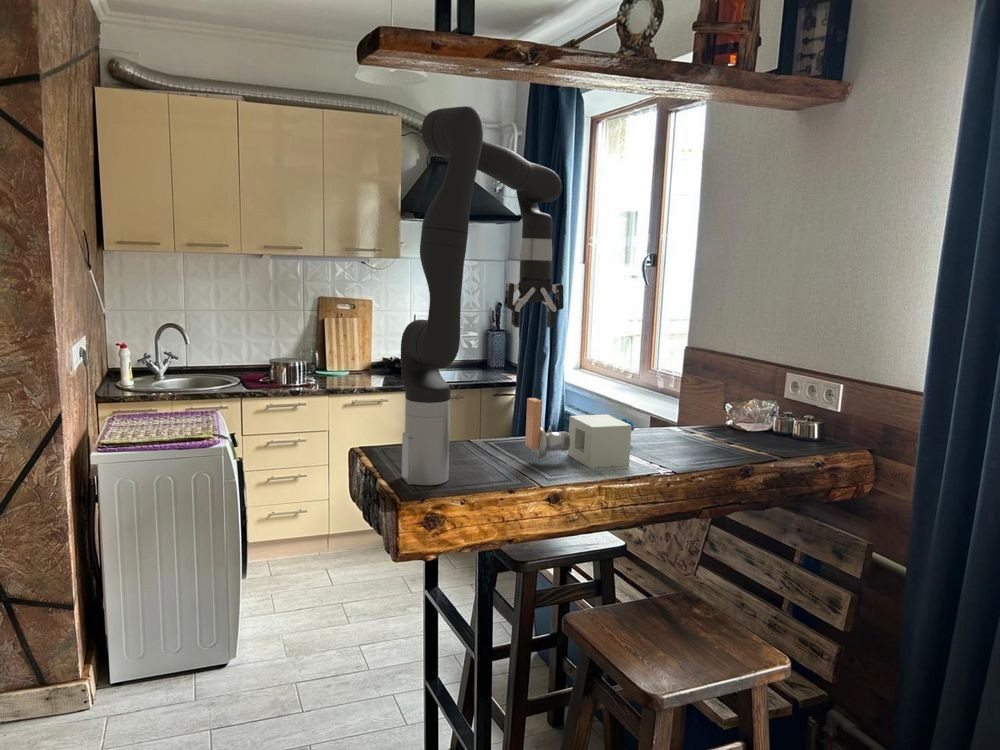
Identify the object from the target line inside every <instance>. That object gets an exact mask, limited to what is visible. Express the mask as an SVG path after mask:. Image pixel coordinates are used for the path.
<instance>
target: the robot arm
mask: <svg viewBox="0 0 1000 750" xmlns="http://www.w3.org/2000/svg"><path fill="white" fill-rule="evenodd" d="M483 123H484V122H483V119H482V117H481V115H480V113H479V111H478V110H477V109H476V108H474V107H472V106H467V105H466V106H454V107H453V106H452V107H444V108H437V109H434V110H432V111H430V112H429V113H428V114H426V115H425V117H424V118H423V121H422V124H421V137H422V138H421V139H422V140H423V144H424V145H425V147H426V148H427V149H428V150H429V152H431V153H432V154H434V155H435V156H440V157H442V158H445V159H448V162H447V170H446V174H445V178H444V179H443V182H442V184H441V186H440V188H439V190H438V191H437V193H436V194H435V196H434V198H433V199H432V201H431V203H430V205H429V206H428V209H427V211H426V212H425V214H424V216H423V220H422V225H421V233H420V243H419V244H420V245H419V257H420V263H421V267H422V270H423V273H424V277H425V280H426V283H427V287H428V292H429V306H428V313H427V315H428V316H427V319H415V320H413V321H411V322H410V323H407V325H406V327H405V328H404V331H403V332H402V335H401V341H400V342H401V343H400V368H401V369H400V372H401V382H402V383H401V384H402V385H403V388H404V398H405V399H404V400H405V402H404V403H405V409H404V410H405V411H404V417H405V418H404V431H403V432H402V438H401V439H402V440H401V441H402V442H401V443H402V444H401V446H402V448H401V477H402V479H403V480H404V482H406V484H407V485H418V486H435V485H436V486H437V485H442V484H444V483H445V484H446V482H448V481H449V472H450V467H449V465H450V464H449V463H450V461H449V460H450V426H451V423H450V422H451V392H452V391H451V386H450V384H449V383H447V381H446V380H445V379H444V378H443V377H442V374H441V372H440V369H444V368H447V367H449V366H451V365H452V364H453V363H454V361H455V360H456V358H457V357H458V352H459V350H460V344H461V343H460V342H461V312H462V311H461V308H462V307H461V306H462V305H461V304H462V302H461V301H462V290H463V289H462V288H463V280H464V279H463V277H464V267H465V260H466V259H465V258H466V254H467V253H466V252H467V246H468V245H467V244H468V236H469V235H468V234H469V224H470V216H471V215H470V214H471V207H472V198H473V192H474V186H475V180H476V176H477V171H479V172H481V173H483V174H485V175H487V176H488V177H491V178H493V179H494V180H496V181H498V182H499V183H501V184H503V185H504V186H507V187H508V188H509V189H512V190H514V191H516V197H517V202H518V205H519V212H520V216H521V219H522V220H521V221H522V225H521V227H522V231H521V243H520V249H519V250H520V251H519V278H518V279H519V280H518V283H512V282H507V283H506V284H505V293H504V303H503V307H504V308H506V309H508V310H510V311H511V324H512V325H513V327H514V328H516V329H517V328H520V324H521V323H520V321H521V311H520V310H521V308H522V307H524V305H525V304H526V303H527V302H528V303H533V302H537V303H543V304H544V305H545V307H546V309H547V310H548V311H547V312H546V328H552V329H553V327H554V326H555V323H556V313H557V311H559V310H563V309H564V307H565V305H564V303H565V302H564V284H561V283H555V284H552V281H551V280H552V268H553V264H552V263H553V244H552V243H553V241H552V240H553V217H552V216H551V215H550V214H549V213H545V212H542V211H540V208H539V205H538V203H551V202H554V201H556V200H557V199H558V198H560V196H561V194H562V190H563V184H562V180H561V178H560V176H559V174H557V173H556V172H555V171H554V170H553V169H550V168H548V167H545V166H544V165H541V164H537V163H534V162H531V161H528V160H527V159H525V158H524V157H522V155H519V154H518V153H516V152H515V151H513V150H511V149H509V148H507V147H504V146H502V145H499V144H495V143H492V142H489V141H486V140H484V125H483ZM517 290H518V292H519V296H518V297H517V298H516V300H515V302H514V294H515V293H516V292H517ZM551 291H552V293H554V302H553V299H552V298H551V296H550V295H549V294H550V293H551Z"/></svg>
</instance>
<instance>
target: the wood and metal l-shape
mask: <svg viewBox="0 0 1000 750" xmlns="http://www.w3.org/2000/svg"><path fill="white" fill-rule="evenodd" d="M542 408H543V401H542V400H541V399H539V398H537V397H527V398H526V421H525V441H524V442H525V443H524V445H525V446H526V447H527V448H529V449H530V450H531V453H532V455H533V457H534V458H535V460H543V459H545V457H546V455H547V452H548V453H550V452H565V451H567V452H568V449H569V447H570V437H569V432H568V431H550V432H549V431H548V432H546V430H545V428H544V427H543V426H542V412H543V409H542Z"/></svg>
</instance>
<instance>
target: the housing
mask: <svg viewBox="0 0 1000 750" xmlns="http://www.w3.org/2000/svg"><path fill="white" fill-rule="evenodd" d="M568 421H569V424H568V425H569V426H568V434H569V437H570V447H569V449H568V450H567V455H568V456H570V457H571V458H573V459H575V460H576V461H578V462H579V463H581V464H583V465H584V466H586V467H587V468H589V469H598V468H597V467H600V468H611V466H615V467H625V466H627V467H628V466H630V458H631V457H630V455H631V439H632V431H631V427H632V425H630V424H628V423H625V422H623V421H622V419H619V418H618V419H616V417H614V416H612V415H609V414H606V413H604V414H585V415H570V416H569V420H568Z"/></svg>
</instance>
